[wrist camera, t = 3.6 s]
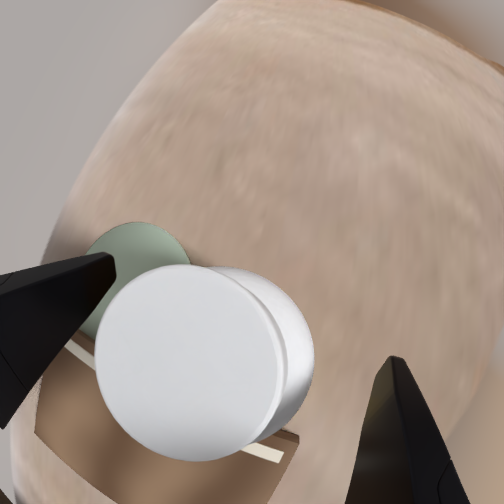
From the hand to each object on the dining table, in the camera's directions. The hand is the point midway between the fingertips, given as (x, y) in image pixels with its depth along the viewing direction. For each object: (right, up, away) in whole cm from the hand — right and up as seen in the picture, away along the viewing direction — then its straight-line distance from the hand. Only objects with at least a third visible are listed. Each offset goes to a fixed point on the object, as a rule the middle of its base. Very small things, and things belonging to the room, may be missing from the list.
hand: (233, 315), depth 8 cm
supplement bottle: (+1, -3, +6) cm, 7 cm away
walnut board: (-6, -10, +5) cm, 13 cm away
